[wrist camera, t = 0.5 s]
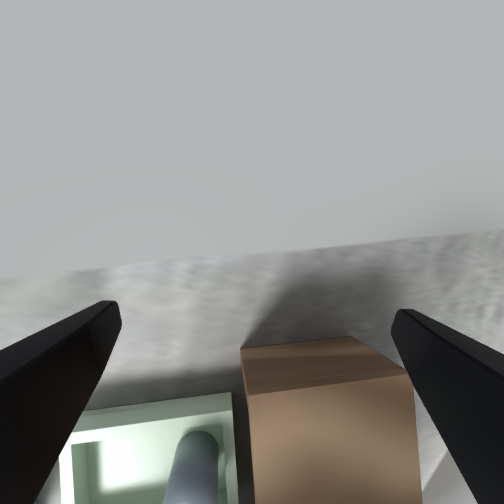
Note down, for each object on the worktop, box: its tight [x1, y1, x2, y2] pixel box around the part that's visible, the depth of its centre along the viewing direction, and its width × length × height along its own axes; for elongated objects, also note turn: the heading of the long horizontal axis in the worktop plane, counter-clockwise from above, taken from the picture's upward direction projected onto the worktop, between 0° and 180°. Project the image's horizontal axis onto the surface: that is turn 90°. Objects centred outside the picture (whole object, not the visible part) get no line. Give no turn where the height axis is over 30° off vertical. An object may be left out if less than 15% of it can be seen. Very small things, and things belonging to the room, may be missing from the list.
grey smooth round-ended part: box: [162, 431, 219, 504], centre depth 18 cm, size 3×3×4 cm
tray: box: [59, 392, 239, 504], centre depth 19 cm, size 8×12×3 cm, turn 94°
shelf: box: [240, 336, 423, 504], centre depth 18 cm, size 15×10×7 cm, turn 4°
